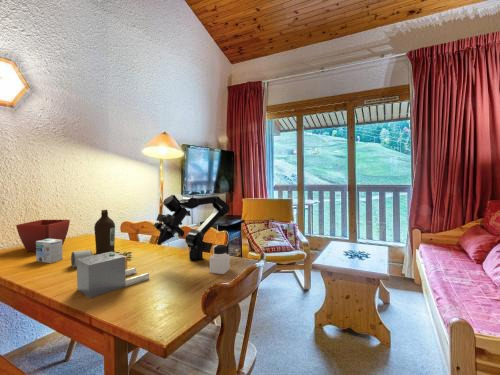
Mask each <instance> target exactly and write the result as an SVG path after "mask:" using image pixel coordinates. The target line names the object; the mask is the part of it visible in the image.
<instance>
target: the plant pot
mask: <svg viewBox="0 0 500 375" xmlns="http://www.w3.org/2000/svg"><path fill="white" fill-rule="evenodd" d="M70 223H71V220H70V219H39V220H33V221H28V222H23V223H20V224H19V223H17V224H16V225H15V227H16V230H17V233H18V237H19V239H20V241H21V243H22V245H23V247H24V248H25V251H27V253H28V252H34V253H36V241H40V240H44V239H58V240H62V247H63V245H64V243H65V240H66V238H67V236H68V231H69V227H70Z"/></svg>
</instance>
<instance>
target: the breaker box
mask: <svg viewBox="0 0 500 375" xmlns="http://www.w3.org/2000/svg"><path fill="white" fill-rule="evenodd" d="M125 257H126V256H125ZM125 257H124V255H123V256H122V254H120V253H117V252H115V251H114V252H107V253H102V254H93V256H88V257H83V258H78V259H77V267H76V280H77V281H76V283H77V284H76V285H77V288H76V289H77V290H78V291H79V292H80V293H82V294H83V295H84V296H85V297H86V298H88V299H92V298H94V297H97V296H100V295H101V296H102V295H104V294H107V293H110V292H113V291H116V290H119V289H122V288H125V287H128V286H131V285H134V284H137V283H141V282H144V281H146V280H149V279H150V273H149V272H146V273H142V274H139V275H137V276H133V277H129V278H127V279H126V277H127V276H130V275H131V276H132V275H134V274H137V267H132V268H127V269H126V270H125Z"/></svg>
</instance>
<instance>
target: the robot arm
mask: <svg viewBox="0 0 500 375" xmlns="http://www.w3.org/2000/svg"><path fill="white" fill-rule="evenodd" d="M209 204H212V208H213V212H212V213H211V214H210V216H209V217H207V218H206V219H205V220H204V222H203V223H202V224H200V226H198V228H196V229H193V228H192V229H190V231H189V232H188V233H186V236H185V244H186V245H187V247H188V248H189V250H188V259H189V260H190V261H191V262H193V261H194V262H195V261H203V260H204V257H203V256H204V255H203V254H204V253H203V252H204V251H203V249H206V248H205V247H206V243H205V241H204V238H205V235H206V234H207V232H208V231H210V229H211V228H212V227H213V226H214V225H215V224H216V222H217V221H218V220H219V219H220V218H222V217H224V216H226V215H227V214H229V212H230V205H229V204H228V203H227V202H226V201H225V200H223V199H222V198H221V197H220V196H218V195H210V196H203V197H202V196H201V197H189V196H185V197H182V198H181V199H180V200H179V198H177V196H176V195H175V194H171V195H169V196H168V197H166V198H165V199H164V200H163V201H162V205H163V206H164V207H165V208H166V209H167V210H168V211H170V212H171V213H172V212H173V213H172V214H169V213H166V214H161V213H160V214H159V213H158V214H157V217H156V221H158V222H155V223H154V224H153V225H152V226H153V227H154V228H155V229H156V230H157V231H158V232H159V235H158V236H159V237H158V238H157V241H156V245H157V246H160V245H162V244H163V243H165V242H167V241H168V240H170V239H172V238H175V234H177V237H179V238H183V237H184V235H185V231H184V230H183V229H182V228H181V227H180V226H182V225H183V221H184V219H185V218H186V217H191V216H192V215H191V211H190V210H192V209H193V210H194V209H196V208H198V207H199V206H202V205H209ZM188 209H190V210H188Z"/></svg>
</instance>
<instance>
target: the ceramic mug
mask: <svg viewBox="0 0 500 375" xmlns="http://www.w3.org/2000/svg"><path fill="white" fill-rule="evenodd" d="M93 255H94V254H93V251H92V250H89V249H86V250H77V251H75V250H74V251H71V256H70V264H71V266H72V268H73V269H74V268H77V259H78V258H83V257H88V256H93Z"/></svg>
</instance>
